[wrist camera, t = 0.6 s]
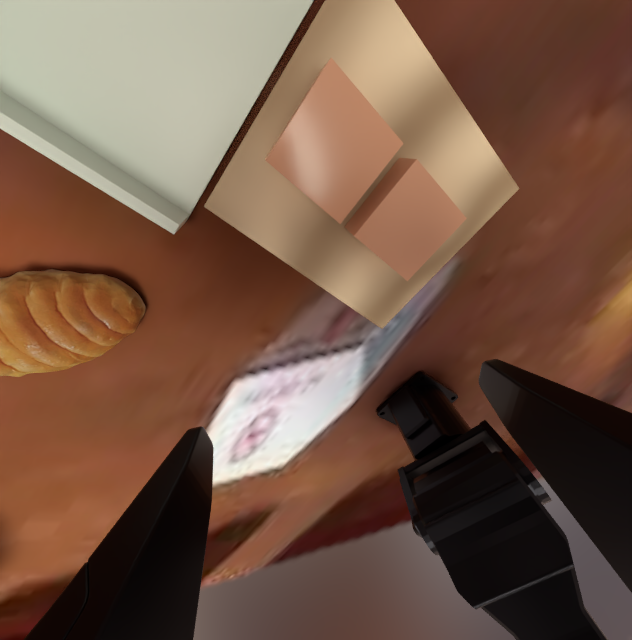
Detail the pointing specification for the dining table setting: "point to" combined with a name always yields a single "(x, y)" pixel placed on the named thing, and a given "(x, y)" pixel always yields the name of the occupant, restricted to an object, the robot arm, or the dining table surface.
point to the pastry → (62, 319)
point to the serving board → (419, 143)
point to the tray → (139, 88)
